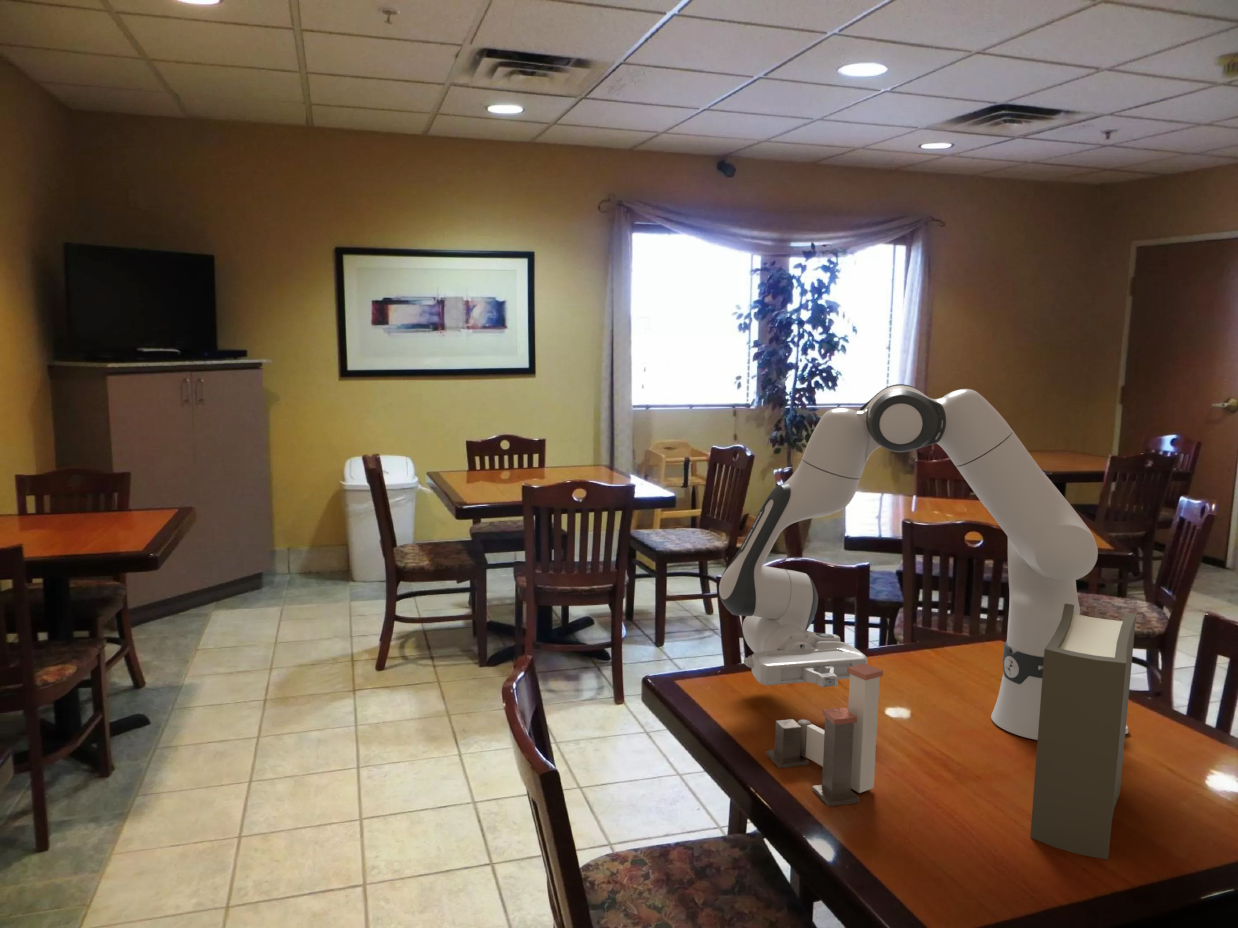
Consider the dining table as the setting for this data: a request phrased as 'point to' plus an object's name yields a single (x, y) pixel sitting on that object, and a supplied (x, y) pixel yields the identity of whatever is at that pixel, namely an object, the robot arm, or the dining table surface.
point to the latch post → (837, 758)
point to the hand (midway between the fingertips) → (830, 682)
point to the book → (1082, 732)
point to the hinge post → (787, 745)
